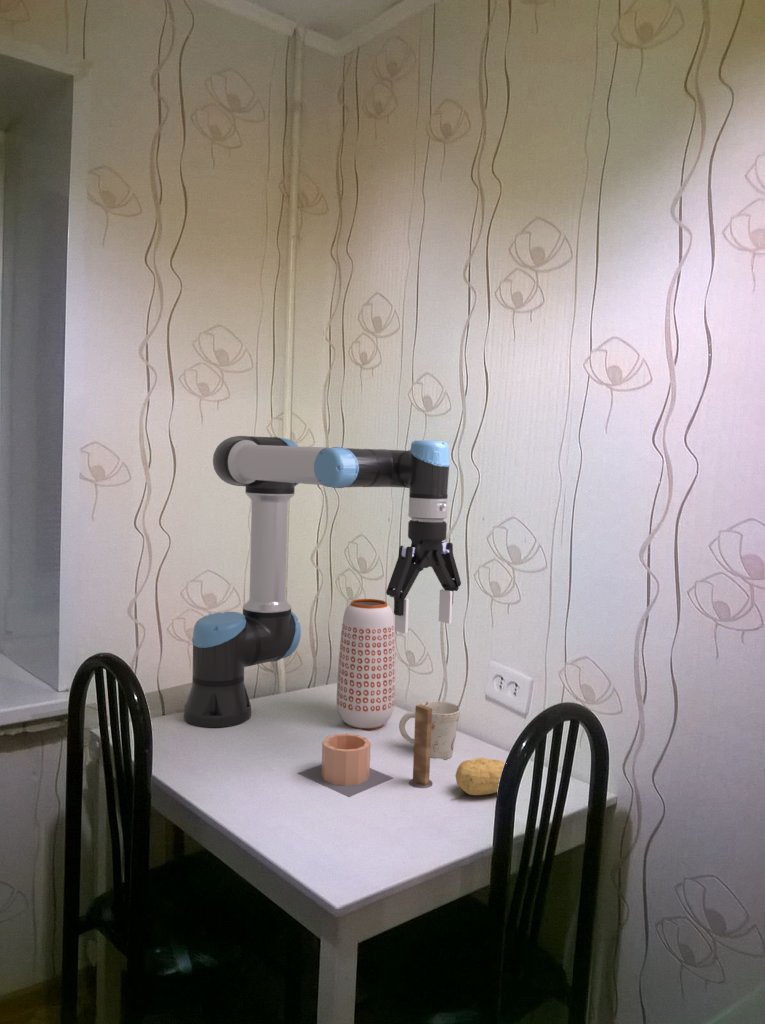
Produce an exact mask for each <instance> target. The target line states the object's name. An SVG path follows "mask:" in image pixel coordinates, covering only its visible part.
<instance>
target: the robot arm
mask: <svg viewBox="0 0 765 1024" xmlns="http://www.w3.org/2000/svg"><path fill="white" fill-rule="evenodd" d="M410 445H411V446H410V449H408V450H404V449H403V450H401V449H386V448H379V449H377V448H375V449H374V448H350V447H343V446H342V447H340V446H339V447H338V446H333V447H327V446H299V445H298V444H297V443H296V442H295V441H294V440H292V439H290V438H289V439H288V438H284V437H277V436H250V435H249V436H248V435H234V436H231V437H228V438H226V439H224V440H223V441H221V442H220V443H219V444H218V445H217V447H216V448H215V449H214V452H213V455H212V466H213V469H214V472H215V474H216V475H217V477H218V478H219V480H221V481H223V482H224V483H226V484H229V485H231V486H235V487H245V495H247V497H248V498H249V499H250V501H251V514H250V515H251V516H250V520H251V521H250V523H251V524H250V554H249V555H250V558H249V559H250V561H249V562H250V563H249V568H250V569H249V599H248V600H247V602H245V603H244V604H243V605H242V613H241V612H237V611H224V612H215V613H210V614H207V615H205V616H202V617H200V618H199V619H198V620H196V622H195V624H194V626H193V633H192V639H191V642H192V678H191V679H192V685H191V688H190V690H189V693H188V696H187V700H186V703H185V705H184V708H183V719H184V721H185V722H186V723H188V724H190V725H193V726H197V727H203V728H223V727H225V728H226V727H230V726H231V727H232V726H236V725H239V724H242V723H245V722H247V721H248V720H249V719H250V718H251V717H252V704H251V702H250V698H249V696H248V692H247V689H246V684H245V668H246V667H253V666H257V665H262V664H265V663H271V662H277V661H280V660H282V659H285V658H288V657H290V656H291V655H292V654H293V653H295V651H296V650H297V648H298V646H299V645H300V641H301V635H302V633H301V632H302V629H301V624H300V623H301V622H299V621H298V620H299V618H298V617H297V614H295V613H294V612H293V611H292V605H291V604H290V603H289V602H288V601H287V599H286V588H287V587H286V584H287V580H286V579H287V551H288V550H287V548H288V546H287V543H288V513H289V511H288V509H289V507H288V506H289V505H288V504H289V500H291V499H292V498H293V497H294V496H295V487H296V486H298V485H299V484H304V485H314V486H315V485H316V486H317V485H318V486H323V487H325V488H332V489H344V488H406V489H408V490H409V492H408V493H409V495H408V496H409V497H408V516H407V517H409V518H410V520H409V521H408V522H407V523H408V524H407V537H408V539H409V540H410V541H411V544H410V546H407V545H400V546H399V547H398V556H397V557H398V558H397V559H396V563H395V566H394V568H393V572H392V574H391V577H390V579H389V583H388V585H387V589H386V592H385V593H386V596H389V597H391V598H393V600H394V601H393V616H394V632H398V633H402V634H409V633H408V632H409V613H410V611H409V609H410V607H409V606H410V599H409V598H407V597H408V595H409V592H410V590H411V588H412V587H413V585H414V583H415V581H416V580H417V577H418V576H419V574H420V572H422V571H423V570H424V569H428V568H429V567H430V568H431V569H432V570H433V572H434V574H435V576H436V577H437V580H438V581H439V583H440V586H441V587H442V589H439V604H438V622H441V623H446V624H452V622H453V620H452V617H453V616H452V615H453V604H454V591H455V592H458V591H459V588H460V586H462V585H461V584H462V581H461V578H460V574H459V571H458V567H457V566H458V565H457V563H456V559H455V556H454V546H453V545H454V544H453V543H452V542H449V541H447V542H446V541H445V540H446V539H447V529H448V526H447V524H448V523H447V521H445V520H446V519H447V517H448V488H449V487H448V486H449V476H450V475H449V473H450V465H451V462H450V447H449V443H447V442H446V441H443V440H421V439H420V440H412V442H411V444H410Z"/></svg>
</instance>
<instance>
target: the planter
mask: <svg viewBox="0 0 765 1024" xmlns="http://www.w3.org/2000/svg"><path fill="white" fill-rule="evenodd" d="M343 613H344V614H343V618H342V624H341V625H342V626H341V633H340V643H339V651H338V652H339V654H338V655H339V656H338V668H337V669H338V671H337V685H336V686H337V687H336V708H337V711H338V715H339V717H340V718H341V719H342V721H343V722H344V723H345V724H346V725H347V726H348V727H350V728H352V729H353V728H354V729H360V730H363V731H374V730H378V729H380V728H383V727H384V725H385V724H386V723H387V722H388V721H389V720H390V719H391V717H392V715H393V713H394V709H395V704H396V640H395V638H396V637H395V618H394V611H393V610H392V608H391V606H389V604H388V603H387V601H384V600H381V599H377V598H376V599H375V598H357V599H353V600H351V601H350V603H349V604H348V605H347V606H346V608H345V609H344V611H343Z"/></svg>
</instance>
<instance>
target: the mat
mask: <svg viewBox="0 0 765 1024" xmlns="http://www.w3.org/2000/svg"><path fill="white" fill-rule="evenodd" d="M297 775H300V776H302V777H304V778H307V779H309V780H311V781H312V782H315V783H318V784H319V785H322V786H324V787H326V788H328V789H331V790H333V791H335V792H337V793H339V794H341V795H343V796H346V797H348V798H351V797H353V796H355V795H357V794H360V793H362V792H365V791H367V790H369V789H372V788H374V787H376V786H379V785H381V784H383V783H385V782H389V781H391V780H392V779H394V777H393V776H390V775H388V774H386V773H383V772H380V771H378V770H376V769H373V768H371V767H370V775H369V777H368V779H367V781H365V782H363V783H360V784H358V785H348V786H343V785H336V784H332V783H329V782H327V781H325V780H324V779H323V777H322V763H321V764H319V765H315V766H313V767H310V768H308V769H305V770H302V771H300V772H298V773H297Z"/></svg>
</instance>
